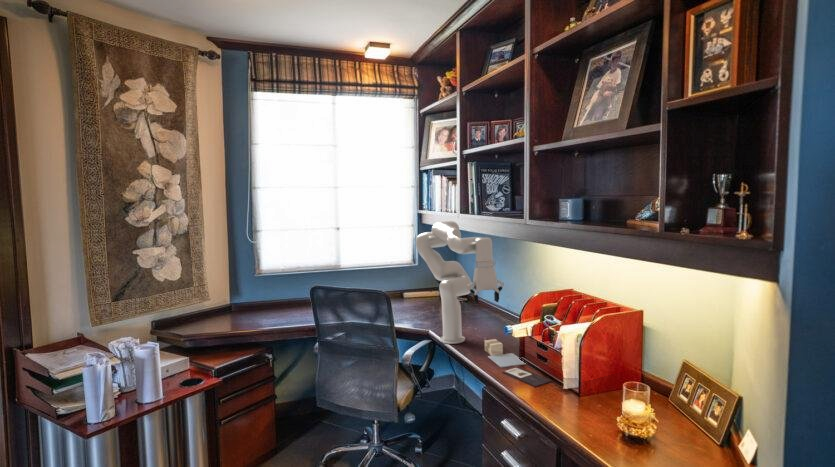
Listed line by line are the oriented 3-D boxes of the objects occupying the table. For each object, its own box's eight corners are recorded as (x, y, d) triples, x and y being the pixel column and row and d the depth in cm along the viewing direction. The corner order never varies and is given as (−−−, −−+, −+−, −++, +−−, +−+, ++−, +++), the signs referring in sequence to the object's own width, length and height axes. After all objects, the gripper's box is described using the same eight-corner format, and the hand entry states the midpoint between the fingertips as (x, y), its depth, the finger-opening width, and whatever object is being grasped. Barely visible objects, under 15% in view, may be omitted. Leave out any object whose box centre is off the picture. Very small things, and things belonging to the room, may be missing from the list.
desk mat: (487, 356, 202) (487, 356, 202) (512, 353, 205) (512, 353, 205) (500, 367, 189) (500, 366, 189) (527, 364, 192) (527, 363, 192)
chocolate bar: (535, 386, 167) (502, 371, 183) (535, 388, 167) (502, 374, 183) (552, 380, 172) (518, 366, 187) (552, 382, 172) (518, 369, 187)
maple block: (484, 350, 212) (484, 340, 211) (495, 349, 213) (495, 339, 213) (491, 356, 204) (491, 345, 204) (502, 354, 205) (502, 343, 205)
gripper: (499, 262, 210) (501, 299, 211) (463, 265, 207) (465, 302, 207) (505, 264, 203) (507, 302, 204) (469, 267, 199) (471, 305, 200)
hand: (486, 302), depth 205 cm, fingers open, 9 cm apart
